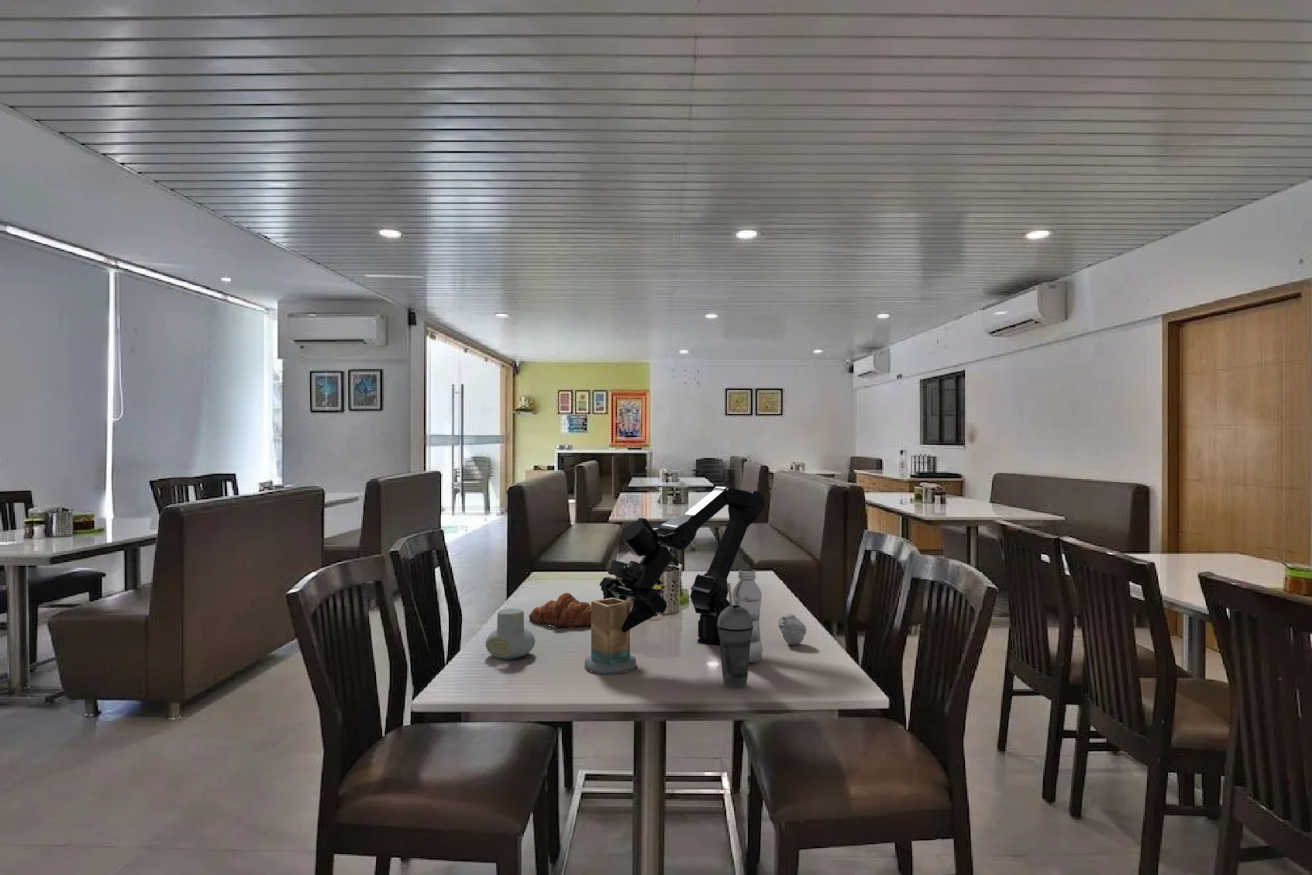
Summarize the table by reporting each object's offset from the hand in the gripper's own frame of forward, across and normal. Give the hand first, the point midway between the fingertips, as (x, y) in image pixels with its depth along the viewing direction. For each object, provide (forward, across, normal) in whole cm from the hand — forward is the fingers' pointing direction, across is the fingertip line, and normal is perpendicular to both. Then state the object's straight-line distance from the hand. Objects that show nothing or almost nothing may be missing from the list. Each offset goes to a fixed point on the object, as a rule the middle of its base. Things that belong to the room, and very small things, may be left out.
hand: (610, 626), depth 144 cm
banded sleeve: (+5, 0, +5) cm, 7 cm away
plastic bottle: (-12, +16, +24) cm, 31 cm away
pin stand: (+6, 0, +6) cm, 8 cm away
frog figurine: (-24, +14, +37) cm, 46 cm away
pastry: (-2, -37, +14) cm, 40 cm away
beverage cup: (-3, +25, +15) cm, 29 cm away
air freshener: (+16, -20, -4) cm, 26 cm away
